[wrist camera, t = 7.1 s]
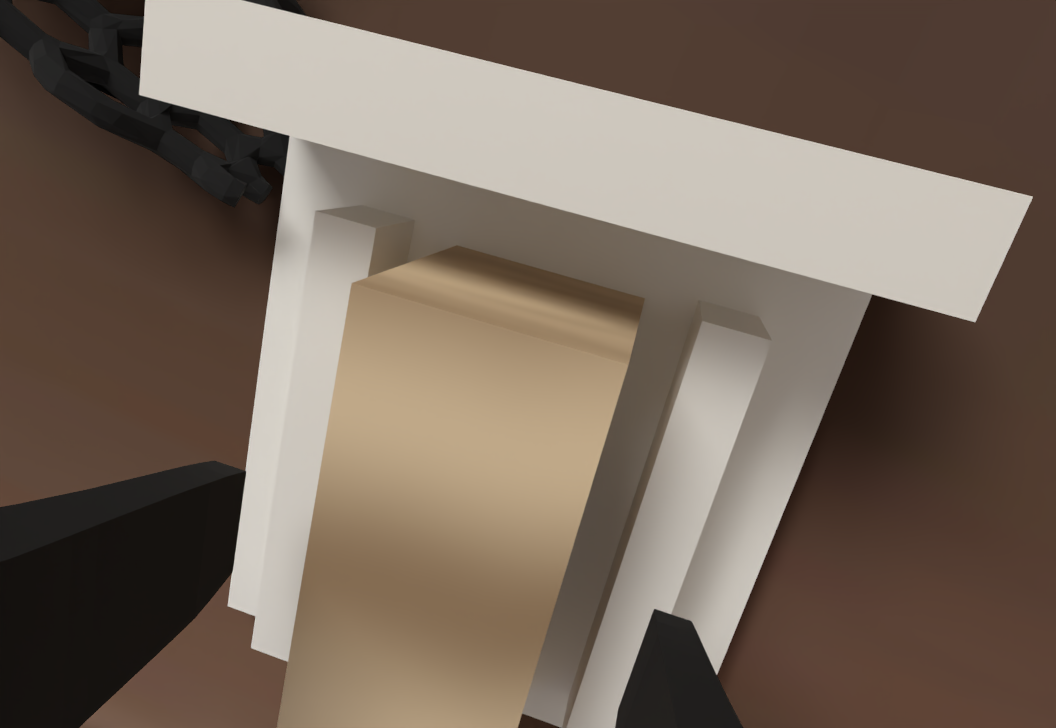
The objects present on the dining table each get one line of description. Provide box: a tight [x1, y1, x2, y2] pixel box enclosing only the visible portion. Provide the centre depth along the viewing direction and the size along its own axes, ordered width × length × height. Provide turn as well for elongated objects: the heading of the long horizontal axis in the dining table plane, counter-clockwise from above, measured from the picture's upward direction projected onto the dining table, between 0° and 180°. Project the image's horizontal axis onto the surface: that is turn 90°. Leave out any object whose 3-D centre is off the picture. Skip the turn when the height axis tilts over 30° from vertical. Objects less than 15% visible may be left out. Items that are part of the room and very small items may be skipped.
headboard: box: [139, 0, 1033, 728], centre depth 14 cm, size 14×12×5 cm
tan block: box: [277, 245, 645, 728], centre depth 14 cm, size 10×4×5 cm, turn 166°
